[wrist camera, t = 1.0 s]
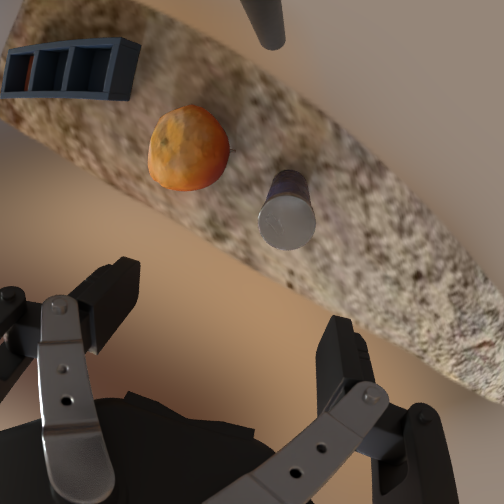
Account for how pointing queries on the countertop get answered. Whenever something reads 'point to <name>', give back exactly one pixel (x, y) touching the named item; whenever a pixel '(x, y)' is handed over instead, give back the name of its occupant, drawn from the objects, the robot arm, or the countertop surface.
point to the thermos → (287, 212)
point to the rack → (72, 69)
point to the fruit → (188, 149)
